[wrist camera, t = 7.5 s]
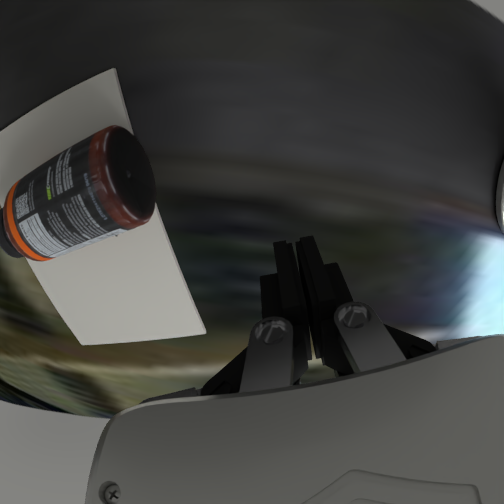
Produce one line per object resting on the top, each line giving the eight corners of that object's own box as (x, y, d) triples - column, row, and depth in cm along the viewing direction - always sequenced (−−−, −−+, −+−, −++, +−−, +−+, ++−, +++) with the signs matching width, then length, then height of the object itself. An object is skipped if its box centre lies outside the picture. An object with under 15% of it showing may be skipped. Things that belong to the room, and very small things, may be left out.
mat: (115, 68, 14) (113, 67, 14) (206, 330, 26) (205, 333, 25) (-17, 145, 15) (-20, 147, 15) (83, 342, 27) (82, 345, 27)
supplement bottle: (162, 168, 19) (46, 218, 20) (118, 101, 14) (-1, 176, 15) (159, 244, 16) (32, 284, 17) (95, 176, 11) (-27, 246, 12)
